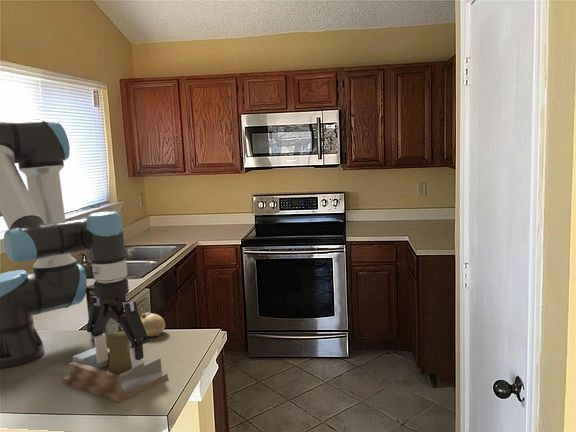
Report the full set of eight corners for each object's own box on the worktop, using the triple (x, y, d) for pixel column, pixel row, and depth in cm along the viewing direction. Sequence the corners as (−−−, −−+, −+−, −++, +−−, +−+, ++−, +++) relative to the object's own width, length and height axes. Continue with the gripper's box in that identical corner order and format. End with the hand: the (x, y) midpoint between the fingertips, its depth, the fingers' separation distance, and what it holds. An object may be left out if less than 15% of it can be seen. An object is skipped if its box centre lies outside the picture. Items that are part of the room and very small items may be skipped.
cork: (127, 383, 126) (122, 337, 125) (103, 383, 127) (98, 337, 126) (139, 372, 132) (134, 328, 130) (116, 372, 133) (111, 328, 132)
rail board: (62, 382, 132) (59, 360, 131) (110, 361, 143) (108, 341, 143) (119, 402, 119) (116, 378, 119) (167, 378, 131) (165, 355, 130)
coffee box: (89, 339, 162) (83, 286, 159) (107, 332, 167) (102, 281, 165) (109, 344, 156) (103, 289, 154) (127, 336, 162) (121, 284, 159)
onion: (156, 328, 168) (154, 306, 167) (171, 333, 162) (168, 310, 161) (133, 336, 162) (130, 313, 161) (147, 342, 157) (145, 318, 156)
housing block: (74, 371, 135) (72, 356, 134) (98, 361, 140) (97, 346, 140) (84, 374, 132) (82, 359, 132) (108, 364, 138) (106, 349, 138)
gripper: (65, 277, 131) (75, 362, 133) (131, 289, 116) (141, 383, 119) (92, 270, 137) (101, 351, 139) (159, 280, 122) (167, 370, 125)
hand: (120, 366), depth 129 cm, fingers open, 13 cm apart
